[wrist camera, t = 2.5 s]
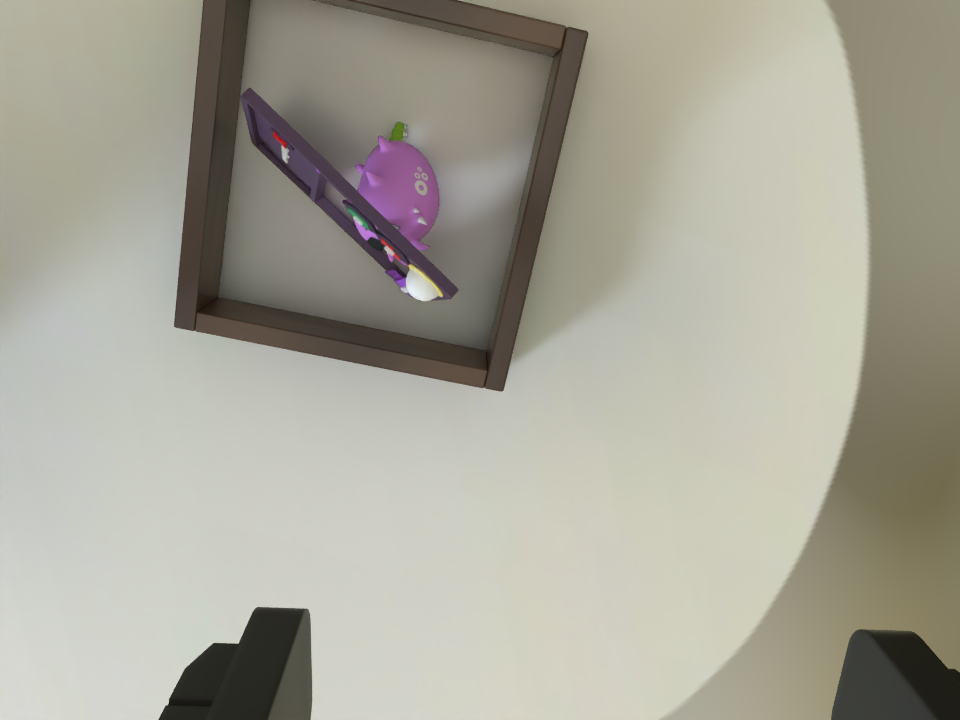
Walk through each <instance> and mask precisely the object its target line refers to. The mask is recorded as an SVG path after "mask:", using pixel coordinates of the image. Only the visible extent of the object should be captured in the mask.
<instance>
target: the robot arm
mask: <svg viewBox="0 0 960 720" xmlns="http://www.w3.org/2000/svg"><path fill="white" fill-rule="evenodd" d="M311 709H312V666H311V624H310V613H309V610H308V609H298V608H269V607H257V608H255V610H254V611H253V613H252V615H251V617H250V619H249V622H248V624H247V626H246V628H245V631H244V633H243V635H242V637H241V640H240V642H239V644H227V643H213V644H212V645H211V646H210V647H209V648H208V649H206V650H205V651H204V652H203V653H202V654H201V655H200V656H199V657H198V658H196V659H195V660H194V661H193V662H192V663H191V664H190V665H189V666H187V667H186V668H185V670H184V672H183V674H182V676H181V678H180V679H179V681H178V683H177V685H176V687H175V689H174V691H173V693H172V695H171V697H170V699H169V704H168V706H167V705H166V706H165V708H164V710H163V712H162V714H161V716H160V718H159V720H310V718H311ZM831 720H960V673H959V672H958V671H957V670H955V669H948V668H947V667H946V666H945V665H944V664H943V663H942V661H941V660H940V659H939V658H938V657H937V656H936V655H935V654H934V652H933V651H932V650H931V649H930V648H929V647H928V646H927V644H926V643H925V642H924V641H923V640H922V639H921V638H920V637H919V636H918V635H917V634H915V633H914V632H911V631H893V630H862V629H861V630H857V631H855V632H854V633H853V634H852V636H851V638H850V640H849V644H848V648H847V652H846V656H845V660H844V664H843V668H842V673H841V677H840V681H839V685H838V689H837V693H836V697H835V701H834V705H833V710H832V717H831Z"/></svg>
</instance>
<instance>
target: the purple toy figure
mask: <svg viewBox="0 0 960 720" xmlns="http://www.w3.org/2000/svg"><path fill="white" fill-rule="evenodd" d="M241 100H242V104H243V108H244V112H245V117H246V121H247V125H248V129H249V133H250V137H251V141H252V143H253V144H254V145H255V146H256V147H257V148H258V149H259V150H260V151H261V152H262V153H263V154H264V155H265V156H266V157H267V158H268V159H269V160H270V161H271V162H273V163H274V164H275V165H276V166H277V167H278V168H279V169H280V170H281V171H282V172H283V173H284V174H285V175H286V176H287V177H288V178H289V179H290V180H292V181H293V182H294V183H295V184H296V185H297V186H298V187H299V188H300V189H301V190H302V191H303V192H304V193H305V194H306V195H307V196H308V197H309V198H311V200H312V201H313V202H315V203H316V204H317V205H318V206H319V207H320V208H321V209H322V210H323V211H324V212H325V213H326V214H327V215H328V216H330V217H331V218H332V219H333V220H334V221H335V222H336V223H337V224H338V225H339V226H340V227H341V228H342V229H343V230H344V231H345V232H346V233H347V234H348V235H350V236H351V237H352V238H353V239H354V240H355V241H356V242H357V243H358V244H359V245H360V246H361V247H362V248H363V249H364V250H365V251H366V252H367V253H369V254H370V255H371V256H372V257H373V258H374V259H375V260H376V261H377V262H378V263H379V264H380V265H381V266H382V267H383V268H384V269H385V270H386V271H385V272H386V273H387V274H388V275H390V276H391V277H392V278H393V279H394V281H395V282H396V283H397V284H398V285H399V286H400V287H401V288H400V289H401V290H402V291H403V293H408V294H409V295H410V296H411V297H414V298H415V299H417V300H419V301H430V300H442V299H451V298H452V297H453V296H454V295H455V294H456V293H457V291H458V289H457V287H456V286H455V285H454V284H453V283H452V282H451V281H450V280H449V279H448V278H446V277H445V276H444V275H443V274H442V273H441V272H440V271H439V270H438V269H437V268H436V267H435V266H434V265H433V264H432V263H431V262H430V261H429V260H428V259H427V258H426V257H425V256H424V255H423V254H422V253H421V252H420V251H419V250H427V249H429V248H430V247H429V246H428V245H425V244H423V243H421V242H419V241H418V240H420V239H421V238H422V237H424V236H425V235H426V234H427V233H428V231H429V230H430V229H431V227H432V226H433V224H434V222H435V220H436V217H437V214H438V210H439V189H438V184H437V180H436V177H435V174H434V172H433V170H432V168H431V166H430V164H429V162H428V161H427V159H426V158H425V157H424V155H423V154H422V153H421V152H420V151H419V150H417V149H416V148H415V147H413V146H412V145H410V144H408V143H405V142H404V140H405V139H402V138H403V136H406V137H408V136H407V135H406V134H407V133H408V132H405V131H404V129H406V130H407V128H406V126H407V125H404V124H403V123H401V122H398V123H396V125H395V127H394V129H393V130H392V133H391V138H390V140H389V141H387V140H386V139H384V138H383V137H382V136H379V137H378V142H379V145H378V146H377V147H376V148H375V149H374V150H373V151H372V152H371V154H370V155H369V157H368V159H367V161H366V164H365V166H364V165H362V164H356V168H357V170H358V172H359V173H360V174H361V175H362V177H361V181H360V185H359V188H358V191H357V190H356V189H355V188H354V187H353V186H352V185H350V184H349V183H348V182H347V181H346V180H345V179H344V178H343V177H342V176H341V175H340V174H339V173H338V172H337V171H336V170H335V169H334V168H333V167H332V166H331V165H330V164H329V163H328V162H327V161H326V160H325V159H324V158H323V157H322V156H321V155H320V154H318V153H317V152H316V151H315V150H314V149H313V148H312V147H311V146H310V145H309V144H308V143H307V142H306V141H305V140H304V139H303V138H302V137H301V136H300V135H299V134H298V133H297V132H296V131H295V130H294V129H293V128H292V127H291V126H290V125H289V124H288V123H286V122H285V121H284V120H283V119H282V118H281V117H280V116H279V115H278V114H277V113H276V112H275V111H274V110H273V109H272V108H271V107H270V106H269V105H268V104H267V103H266V102H265V101H264V100H263V99H262V98H261V97H260V96H259V95H258V94H257V93H256V92H254V91H253V90H252V89H251V88H248V89H247V90H246V91H245V92H244V93H243V94H242V95H241ZM404 132H405V133H404ZM327 180H328V181H329V182H330V183H331V184H332V185H333V186H334V187H335V188H336V189H337V190H338V191H339V192H340V193H341V194H342V195H343V196H344V197H345V198H346V199H347V200H343V201H342V202H343V204H344V205H345V207H346V208H347V210H348V211H349V213H350V214H351V215H352V216H353V218H354V222H355V225H356V227H357V228H356V227H355V226H354V225H353V224H352V223H351V222H350V221H349V220H348V219H347V218H346V217H344V216H343V215H342V214H341V213H340V212H339V211H338V210H337V209H336V208H335V207H334V206H333V205H332V204H331V203H330V202H329V201H328V200H327V199H326V198H325V197H324V196H323V193H324V189H325V185H326V181H327ZM384 249H385V250H386V251H387V254H388V257H389V258H387V257H386V256H385V255H384V254H383V253H382V252H381V251H383V250H384ZM418 249H419V250H418ZM394 257H395V258H397V259H398V260H399V261H400V262H401V263H402V264H404V265H408V266H409V269H410V270H409V272H408V274H407V276H406V275H405V274H404V273H403V272H402V271H401V270H400V269H399V268H398V267H397V266H396V265H395V264H394V263H393V260H394ZM407 257H408V258H409V259H410V260H411V261H412V262H413V263H414V264H415V265H416V266H417V267H418V268H417V267H416V266H414V265H413V264H411V263H410V262H409V260H408V258H407Z"/></svg>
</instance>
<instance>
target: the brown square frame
mask: <svg viewBox="0 0 960 720" xmlns="http://www.w3.org/2000/svg"><path fill="white" fill-rule="evenodd" d="M313 1H318V2H322V3H326V4H330V5H335V6H339V7H343V8H348V9H352V10H356V11H360V12H365V13H369V14H373V15H378V16H382V17H386V18H391V19H395V20H399V21H403V22H408V23H412V24H416V25H421V26H425V27H429V28H433V29H438V30H442V31H446V32H451V33H455V34H459V35H464V36H468V37H472V38H476V39H481V40H485V41H489V42H494V43H498V44H502V45H506V46H511V47H515V48H519V49H524V50H528V51H532V52H537V53H541V54H545V55H549V56H554V58H553V63H552V67H551V71H550V76H549V80H548V85H547V89H546V93H545V98H544V102H543V107H542V111H541V115H540V120H539V124H538V129H537V133H536V138H535V142H534V146H533V151H532V155H531V160H530V164H529V168H528V173H527V177H526V182H525V186H524V190H523V195H522V199H521V204H520V208H519V212H518V217H517V221H516V226H515V230H514V235H513V239H512V243H511V248H510V252H509V257H508V261H507V265H506V270H505V274H504V279H503V283H502V287H501V292H500V296H499V301H498V305H497V310H496V314H495V318H494V323H493V327H492V332H491V336H490V340H489V345H488V349H487V352H486V351H482V350H477V349H472V348H467V347H463V346H458V345H453V344H448V343H443V342H438V341H433V340H428V339H423V338H418V337H413V336H408V335H403V334H398V333H393V332H388V331H383V330H378V329H373V328H368V327H364V326H359V325H354V324H349V323H344V322H339V321H334V320H329V319H324V318H319V317H314V316H309V315H304V314H299V313H294V312H289V311H284V310H279V309H274V308H269V307H265V306H260V305H255V304H250V303H245V302H240V301H235V300H230V299H225V298H220V297H219V298H218V293H219V283H220V274H221V265H222V256H223V246H224V237H225V228H226V218H227V209H228V200H229V191H230V181H231V172H232V163H233V154H234V144H235V135H236V126H237V116H238V107H239V98H240V89H241V79H242V70H243V61H244V51H245V42H246V33H247V24H248V14H249V5H250V0H204V1H203V12H202V23H201V34H200V45H199V56H198V67H197V78H196V89H195V100H194V112H193V123H192V134H191V145H190V156H189V167H188V178H187V189H186V200H185V211H184V222H183V233H182V244H181V255H180V266H179V278H178V289H177V300H176V311H175V322H174V327H176V328H181V329H186V330H191V331H197V332H202V333H207V334H212V335H217V336H222V337H227V338H232V339H237V340H242V341H247V342H252V343H258V344H263V345H268V346H273V347H278V348H283V349H288V350H293V351H298V352H303V353H308V354H313V355H318V356H323V357H328V358H333V359H338V360H343V361H348V362H353V363H358V364H363V365H368V366H374V367H379V368H384V369H389V370H394V371H399V372H404V373H409V374H414V375H419V376H424V377H429V378H434V379H439V380H444V381H449V382H454V383H459V384H464V385H469V386H474V387H479V388H484V387H485V388H486V389H491V390H496V391H503V390H504V387H505V382H506V378H507V374H508V370H509V366H510V361H511V357H512V353H513V349H514V345H515V340H516V336H517V332H518V328H519V324H520V319H521V315H522V311H523V307H524V303H525V298H526V294H527V290H528V286H529V281H530V277H531V273H532V269H533V265H534V260H535V256H536V252H537V248H538V244H539V239H540V235H541V231H542V227H543V223H544V218H545V214H546V210H547V206H548V202H549V197H550V193H551V189H552V185H553V181H554V176H555V172H556V168H557V164H558V160H559V155H560V151H561V147H562V143H563V139H564V134H565V130H566V126H567V122H568V118H569V113H570V109H571V105H572V101H573V97H574V92H575V88H576V84H577V80H578V76H579V71H580V67H581V63H582V59H583V55H584V50H585V46H586V42H587V38H588V32H587V31H585V30H580V29H576V28H572V27H567V28H566V27H565V26H564V25H560V24H555V23H551V22H547V21H543V20H538V19H534V18H530V17H526V16H521V15H517V14H513V13H509V12H504V11H500V10H496V9H492V8H488V7H483V6H479V5H475V4H471V3H466V2H462V1H458V0H313Z"/></svg>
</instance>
